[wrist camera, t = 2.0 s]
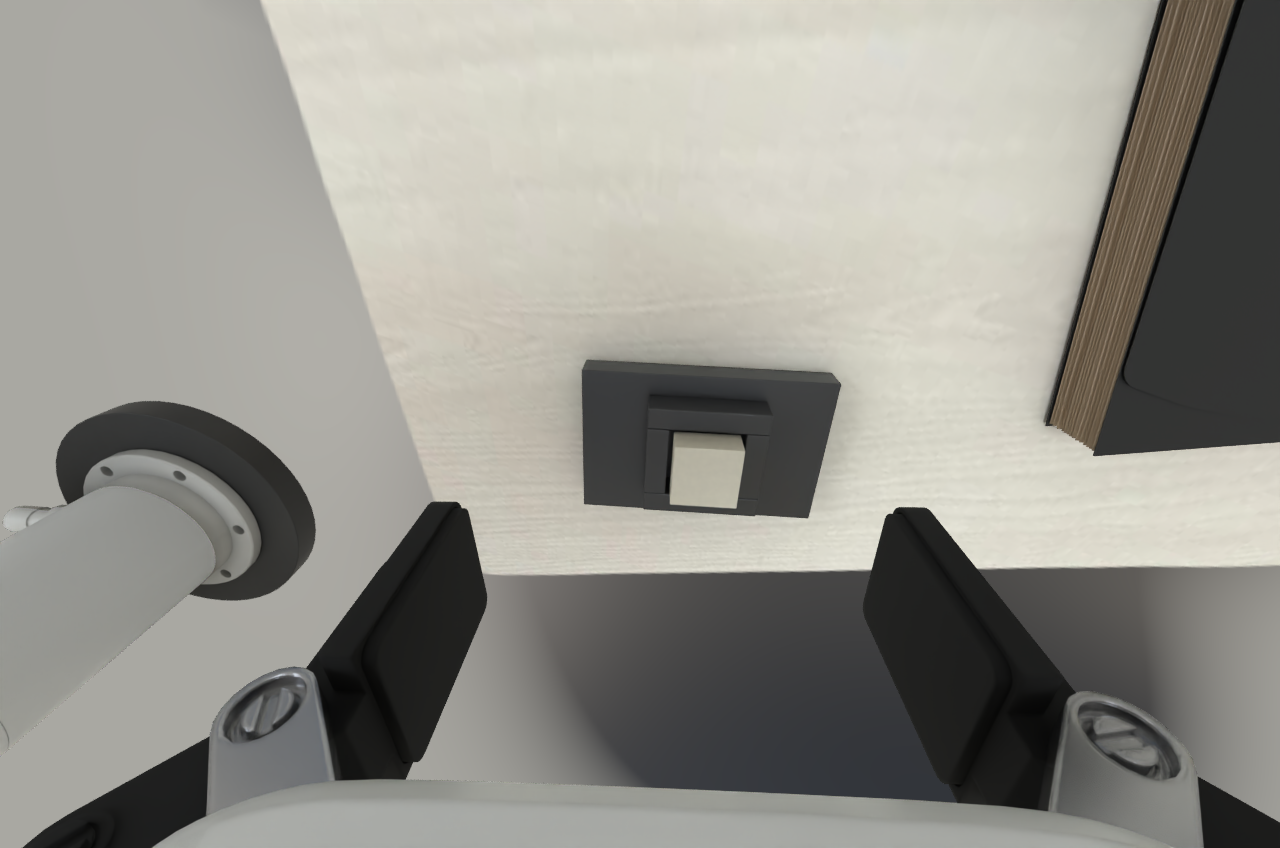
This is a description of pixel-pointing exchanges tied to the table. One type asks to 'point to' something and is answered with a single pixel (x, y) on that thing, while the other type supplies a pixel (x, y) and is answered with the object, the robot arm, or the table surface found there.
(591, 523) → the table surface
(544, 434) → the table surface
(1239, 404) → the file folder
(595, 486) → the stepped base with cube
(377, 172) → the table surface
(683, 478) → the key
